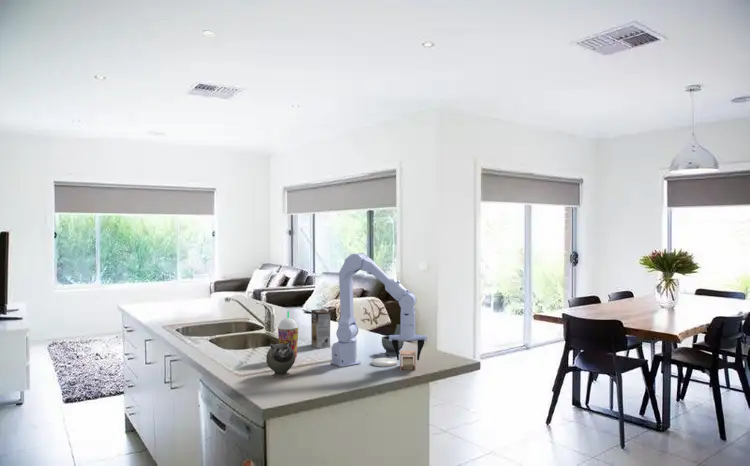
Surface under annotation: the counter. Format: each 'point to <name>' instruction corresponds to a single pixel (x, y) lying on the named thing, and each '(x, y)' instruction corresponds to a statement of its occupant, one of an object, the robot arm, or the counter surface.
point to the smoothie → (288, 332)
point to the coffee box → (320, 328)
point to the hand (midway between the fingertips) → (408, 359)
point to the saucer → (384, 362)
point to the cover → (408, 353)
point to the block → (407, 362)
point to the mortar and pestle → (388, 344)
